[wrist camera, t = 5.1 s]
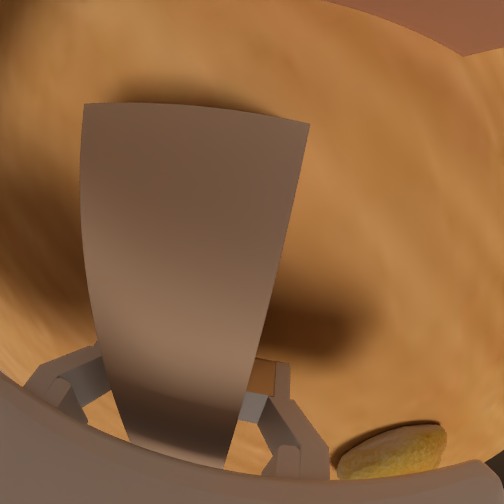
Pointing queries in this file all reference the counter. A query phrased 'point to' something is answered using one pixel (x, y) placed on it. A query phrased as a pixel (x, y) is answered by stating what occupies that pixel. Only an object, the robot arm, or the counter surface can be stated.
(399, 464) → the bread roll
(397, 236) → the counter surface
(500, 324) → the counter surface
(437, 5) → the tile
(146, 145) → the bar
